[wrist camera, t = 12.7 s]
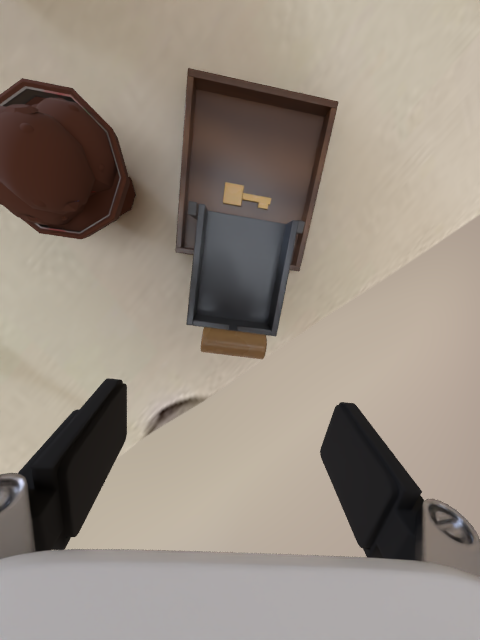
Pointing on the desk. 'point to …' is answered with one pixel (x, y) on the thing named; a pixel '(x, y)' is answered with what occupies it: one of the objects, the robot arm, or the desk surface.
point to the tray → (251, 153)
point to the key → (242, 196)
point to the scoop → (238, 281)
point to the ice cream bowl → (60, 162)
